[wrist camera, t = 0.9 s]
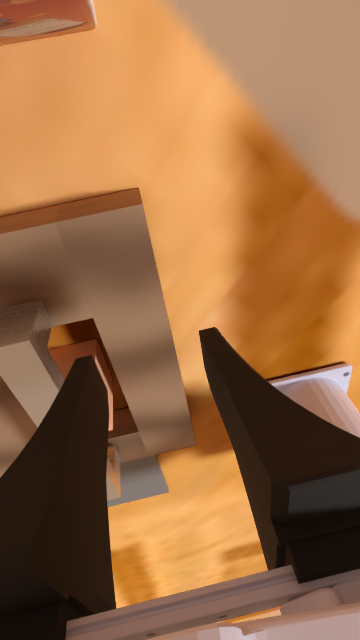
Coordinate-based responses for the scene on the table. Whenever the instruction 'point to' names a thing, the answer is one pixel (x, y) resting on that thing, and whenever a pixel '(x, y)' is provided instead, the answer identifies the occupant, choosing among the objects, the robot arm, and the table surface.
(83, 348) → the block
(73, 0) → the small box
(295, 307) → the table surface
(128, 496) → the mat
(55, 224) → the puzzle board
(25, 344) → the bar
